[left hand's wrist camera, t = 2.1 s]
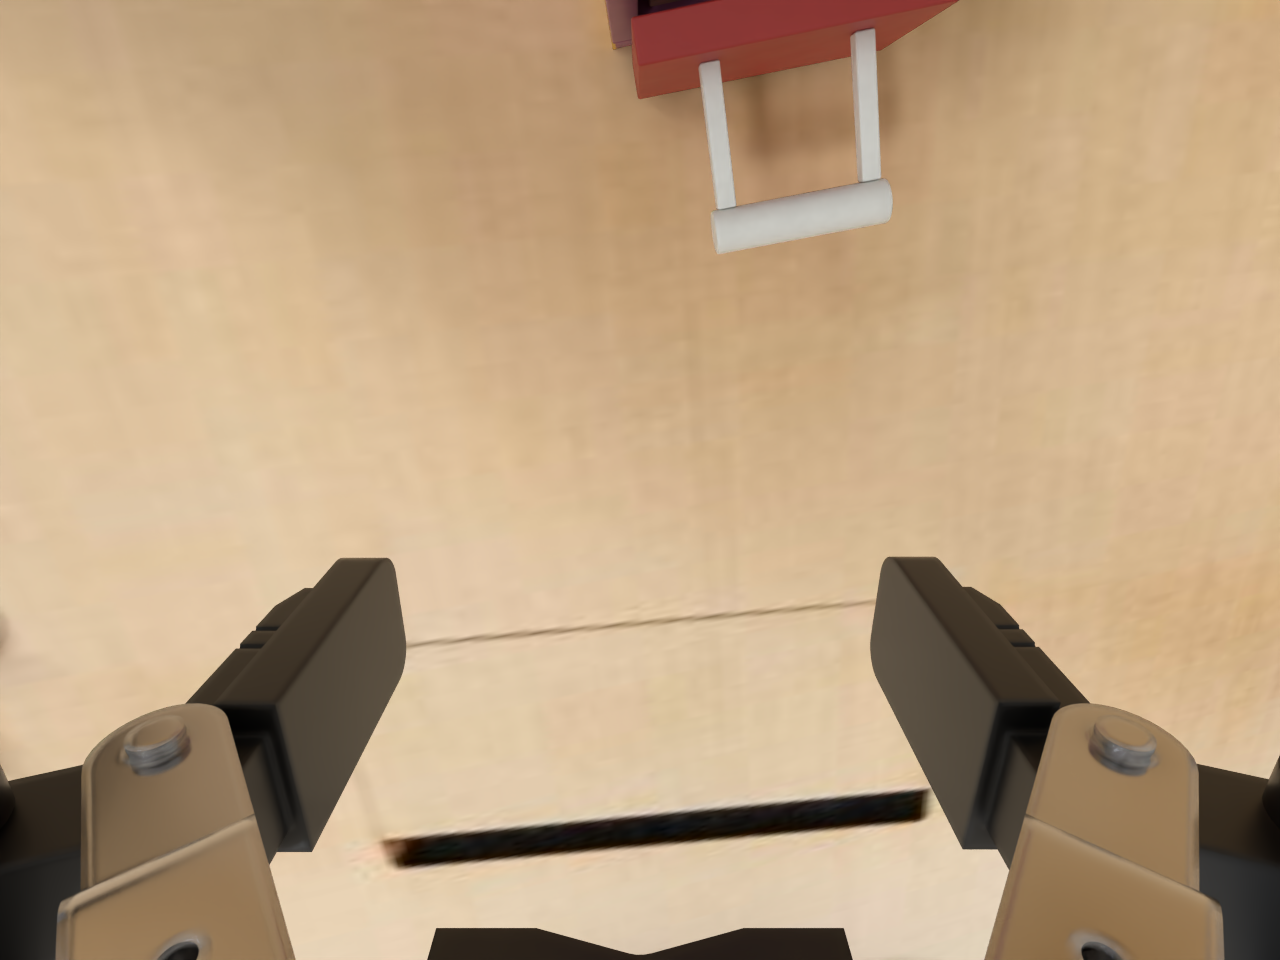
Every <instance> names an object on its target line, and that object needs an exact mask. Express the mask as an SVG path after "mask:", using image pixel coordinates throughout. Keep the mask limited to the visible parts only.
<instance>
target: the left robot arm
mask: <svg viewBox="0 0 1280 960" xmlns="http://www.w3.org/2000/svg"><path fill="white" fill-rule="evenodd" d="M870 651H871V660H872V666H873V670H874V673H875V676H876V678H877V680H878V682H879V684H880V686H881V688H882V690H883V692H884V694H885V696H886V698H887V700H888V702H889V704H890V706H891V708H892V710H893V712H894V714H895V716H896V718H897V720H898V722H899V724H900V726H901V728H902V730H903V732H904V734H905V736H906V738H907V740H908V742H909V744H910V746H911V748H912V750H913V752H914V754H915V755H916V757H917V759H918V761H919V763H920V765H921V767H922V769H923V771H924V773H925V775H926V777H927V779H928V781H929V783H930V785H931V787H932V789H933V791H934V793H935V795H936V797H937V799H938V801H939V803H940V805H941V807H942V809H943V811H944V813H945V815H946V817H947V819H948V821H949V823H950V825H951V827H952V829H953V831H954V833H955V835H956V837H957V839H958V841H959V843H960V845H961V847H962V849H998V851H999V853H1000V854H1001V856H1002V858H1003V860H1004V862H1005V863H1006V865H1007V867H1008V869H1009V873H1008V877H1007V881H1006V884H1005V888H1004V891H1003V895H1002V898H1001V902H1000V905H999V909H998V913H997V916H996V920H995V923H994V927H993V930H992V934H991V937H990V941H989V945H988V948H987V952H986V955H985V959H984V960H1280V756H1279V758H1278V760H1277V763H1276V765H1275V767H1274V769H1273V772H1272V774H1271V776H1270V778H1269V779H1264V778H1260V777H1255V776H1251V775H1246V774H1241V773H1237V772H1232V771H1227V770H1223V769H1218V768H1214V767H1209V766H1204V765H1200V764H1196V762H1195V760H1194V758H1193V757H1192V755H1191V754H1190V752H1189V751H1188V750H1187V749H1186V748H1185V747H1184V746H1183V745H1182V744H1181V742H1179V741H1178V740H1177V739H1176V738H1175V737H1173V736H1172V735H1171V734H1169V733H1168V732H1166V731H1165V730H1164V729H1162V728H1160V727H1159V726H1157V725H1155V724H1154V723H1152V722H1150V721H1148V720H1146V719H1144V718H1142V717H1140V716H1137V715H1135V714H1132V713H1130V712H1127V711H1124V710H1121V709H1117V708H1114V707H1109V706H1105V705H1099V704H1090V703H1089V701H1088V700H1087V699H1086V698H1085V697H1084V696H1083V695H1082V694H1081V693H1080V692H1079V690H1078V689H1077V688H1076V687H1075V686H1074V685H1073V684H1072V683H1071V682H1070V681H1069V680H1068V678H1067V677H1066V676H1065V675H1064V674H1063V673H1062V672H1061V671H1060V670H1059V669H1058V667H1057V666H1056V665H1055V664H1054V663H1053V662H1052V661H1051V660H1050V659H1049V658H1048V656H1047V655H1046V654H1045V653H1044V652H1043V651H1042V650H1041V649H1040V648H1039V647H1035V642H1034V641H1033V640H1032V639H1031V638H1030V637H1029V636H1028V635H1027V633H1026V632H1025V631H1024V630H1023V629H1019V625H1018V624H1017V622H1016V621H1015V620H1014V619H1013V618H1012V617H1011V616H1010V615H1009V614H1008V613H1007V612H1006V610H1005V609H1004V608H1003V607H1002V606H1001V605H1000V604H998V603H997V602H995V601H993V600H992V599H990V598H988V597H987V596H985V595H984V594H982V593H980V592H979V591H977V590H975V589H974V588H972V587H962V586H961V585H960V583H959V582H958V581H957V580H956V579H955V578H954V576H953V575H952V574H951V573H950V572H949V571H948V569H947V568H946V567H945V566H944V565H943V564H942V562H941V561H940V560H939V559H938V558H936V557H887V558H886V559H885V561H884V562H883V565H882V568H881V573H880V579H879V586H878V593H877V600H876V606H875V613H874V620H873V626H872V633H871V642H870ZM405 658H406V638H405V631H404V625H403V618H402V611H401V605H400V598H399V592H398V585H397V579H396V572H395V568H394V565H393V563H392V561H391V560H390V559H388V558H340V559H338V560H337V561H336V562H335V563H334V565H333V566H332V567H331V568H330V569H329V570H328V571H327V573H326V574H325V575H324V576H323V577H322V578H321V580H320V581H319V582H318V583H317V584H316V585H315V587H314V588H304V589H303V590H301V591H299V592H298V593H296V594H294V595H293V596H291V597H289V598H288V599H286V600H284V601H283V602H281V603H279V604H278V605H276V606H275V607H274V608H273V609H272V610H271V611H270V612H269V613H268V614H267V615H266V617H265V618H264V619H263V620H262V621H261V622H260V623H259V624H258V625H257V626H256V631H252V632H251V633H250V634H249V635H248V636H247V637H246V638H245V639H244V640H243V642H242V643H241V644H240V649H235V650H234V651H233V652H232V654H231V655H230V656H229V657H228V658H227V659H226V660H225V661H224V662H223V663H222V664H221V666H220V667H219V668H218V669H217V670H216V671H215V672H214V673H213V674H212V675H211V676H210V677H209V679H208V680H207V681H206V682H205V683H204V684H203V685H202V686H201V687H200V688H199V689H198V691H197V692H196V693H195V694H194V695H193V696H192V697H191V698H190V699H189V700H188V701H187V702H186V704H181V705H175V706H171V707H166V708H163V709H159V710H156V711H153V712H150V713H148V714H145V715H143V716H140V717H138V718H136V719H134V720H132V721H130V722H128V723H126V724H125V725H123V726H121V727H120V728H118V729H116V730H115V731H114V732H112V733H111V734H109V735H108V736H107V737H105V738H104V739H103V740H102V741H101V742H99V744H98V745H97V746H96V747H95V748H94V749H93V750H92V751H91V752H90V754H89V755H88V757H87V758H86V760H85V762H84V764H83V765H80V766H76V767H71V768H67V769H62V770H58V771H53V772H48V773H44V774H39V775H34V776H30V777H25V778H21V779H16V780H11V781H8V780H7V778H6V776H5V774H4V772H3V769H2V767H1V765H0V960H296V959H295V955H294V952H293V948H292V945H291V941H290V937H289V934H288V930H287V927H286V923H285V920H284V916H283V913H282V909H281V905H280V902H279V898H278V895H277V891H276V888H275V884H274V881H273V877H272V873H271V870H270V866H269V865H270V863H271V861H272V859H273V857H274V856H275V854H276V852H312V851H313V849H314V847H315V845H316V843H317V841H318V839H319V837H320V835H321V833H322V831H323V829H324V827H325V825H326V823H327V821H328V819H329V817H330V815H331V813H332V811H333V810H334V808H335V806H336V804H337V802H338V800H339V798H340V796H341V794H342V792H343V790H344V788H345V786H346V784H347V782H348V780H349V778H350V776H351V774H352V772H353V770H354V768H355V766H356V765H357V763H358V761H359V759H360V757H361V755H362V753H363V751H364V749H365V747H366V745H367V743H368V741H369V739H370V737H371V735H372V733H373V731H374V729H375V727H376V725H377V723H378V721H379V719H380V718H381V716H382V714H383V712H384V710H385V708H386V706H387V704H388V702H389V700H390V698H391V696H392V694H393V692H394V690H395V688H396V686H397V684H398V682H399V680H400V678H401V676H402V673H403V669H404V664H405ZM427 960H853V959H852V956H851V952H850V949H849V945H848V942H847V938H846V935H845V931H844V928H743V929H739V930H735V931H732V932H728V933H724V934H721V935H717V936H713V937H710V938H706V939H702V940H699V941H695V942H692V943H688V944H684V945H681V946H677V947H673V948H670V949H666V950H662V951H659V952H655V953H651V954H646V955H634V954H629V953H625V952H621V951H618V950H614V949H610V948H607V947H603V946H599V945H596V944H592V943H588V942H585V941H581V940H577V939H574V938H570V937H567V936H563V935H559V934H556V933H552V932H548V931H545V930H541V929H537V928H436V931H435V935H434V938H433V942H432V945H431V949H430V952H429V956H428V959H427Z"/></svg>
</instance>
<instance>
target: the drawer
mask: <svg viewBox="0 0 1280 960" xmlns="http://www.w3.org/2000/svg"><path fill="white" fill-rule="evenodd" d="M675 1H680V0H648V4H649V6H651V7H652V6H656V5H661V4H666V3H670V2H675ZM957 1H959V0H710V1H706V2H701V3H696V4H692V5H687V6H682V7H677V8H673V9H668V10H663V11H658V12H654V13H649V14H644V15H639V16H635V17H632V18H631V32H632V58H633V69H634V76H635V82H636V88H637V95H638V98H639V99H643V98H648V97H653V96H658V95H662V94H667V93H672V92H677V91H682V90H687V89H692V88H697V87H701V93H702V101H703V109H704V117H705V125H706V133H707V140H708V148H709V156H710V164H711V172H712V180H713V188H714V196H715V204H716V209H718V210H714V211H712V212H711V228H712V236H713V242H714V247H715V251H716V253H717V254H723V253H728V252H733V251H739V250H744V249H749V248H755V247H760V246H766V245H771V244H776V243H782V242H787V241H792V240H798V239H803V238H808V237H814V236H819V235H824V234H830V233H835V232H840V231H846V230H851V229H856V228H862V227H867V226H873V225H878V224H883V223H886V222H888V221H889V220H890V217H891V214H892V207H893V199H892V191H891V187H890V184H889V182H888V180H887V179H884V178H882V179H880V178H881V160H880V136H879V111H878V87H877V62H876V51H879V50H882V49H883V48H885V47H886V46H888V45H890V44H891V43H893V42H894V41H896V40H897V39H899V38H901V37H902V36H904V35H905V34H907V33H908V32H910V31H912V30H913V29H915V28H916V27H918V26H919V25H921V24H923V23H924V22H926V21H927V20H929V19H930V18H932V17H934V16H935V15H937V14H938V13H940V12H941V11H943V10H945V9H946V8H948V7H949V6H951V5H953V4H954V3H956V2H957ZM849 56H851V62H852V81H853V100H854V119H855V138H856V157H857V176H858V182H861V183H855V184H850V185H845V186H840V187H834V188H829V189H824V190H819V191H814V192H808V193H803V194H798V195H793V196H787V197H782V198H777V199H772V200H766V201H761V202H756V203H751V204H746V205H740V206H736V197H735V189H734V180H733V172H732V163H731V154H730V146H729V137H728V129H727V120H726V111H725V103H724V94H723V85H722V82H726V81H731V80H736V79H741V78H746V77H751V76H756V75H761V74H766V73H771V72H776V71H781V70H785V69H790V68H795V67H800V66H805V65H810V64H815V63H820V62H825V61H830V60H835V59H840V58H845V57H849Z"/></svg>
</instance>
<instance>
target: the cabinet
mask: <svg viewBox="0 0 1280 960" xmlns="http://www.w3.org/2000/svg"><path fill="white" fill-rule="evenodd" d="M706 1H710V0H680V1H675V2H670V3H666V4H661V5H656V6H652V7H651V6H649V4H648V0H605V4H606V10H607V16H608V22H609V28H610V34H611V40H612V46H613V50H614V49H616V48H619V47H624V46H629V45H632V32H631V18H632V17H635V16H639V15H644V14H649V13H654V12H658V11H663V10H668V9H673V8H677V7H682V6H687V5H692V4H696V3H701V2H706Z"/></svg>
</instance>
